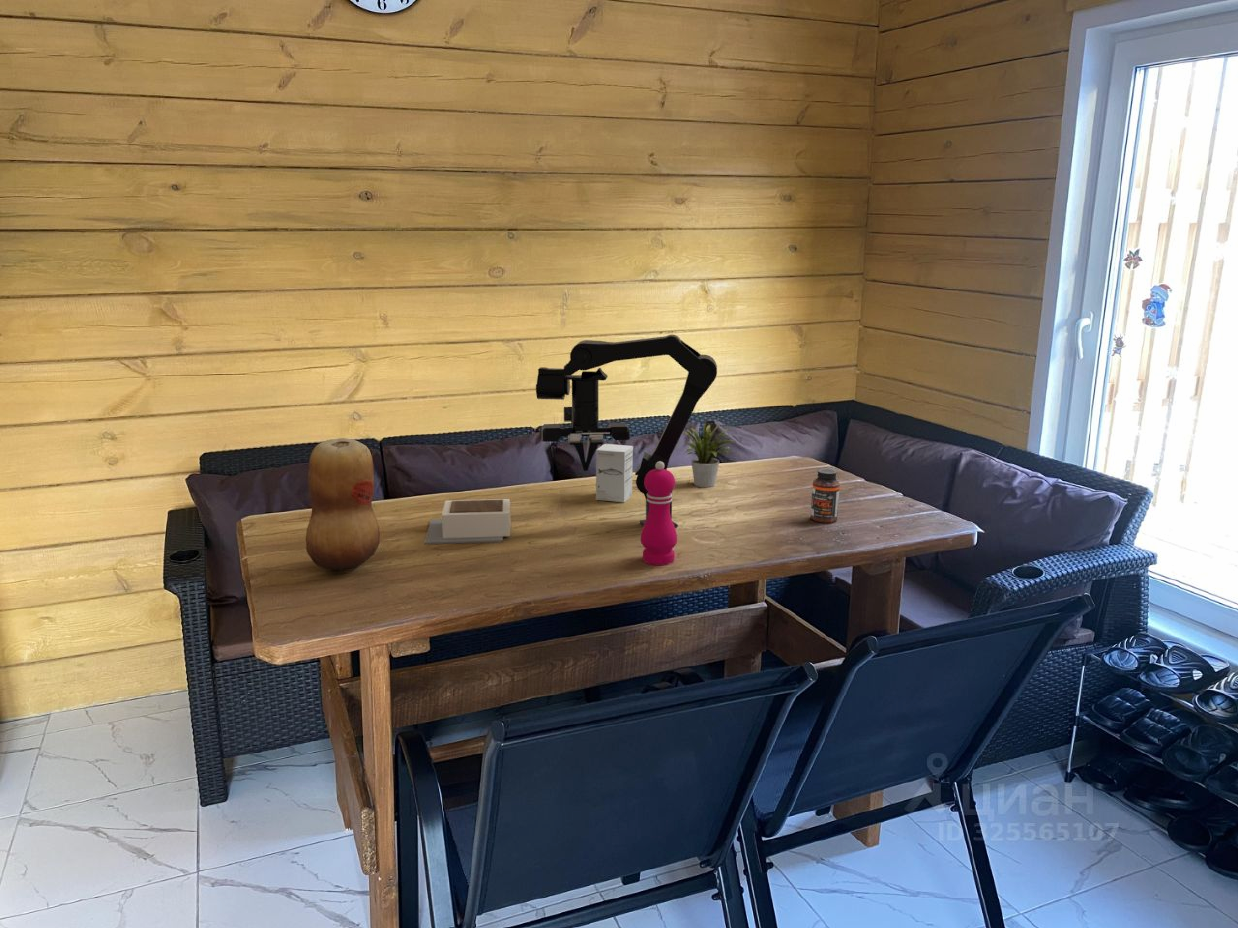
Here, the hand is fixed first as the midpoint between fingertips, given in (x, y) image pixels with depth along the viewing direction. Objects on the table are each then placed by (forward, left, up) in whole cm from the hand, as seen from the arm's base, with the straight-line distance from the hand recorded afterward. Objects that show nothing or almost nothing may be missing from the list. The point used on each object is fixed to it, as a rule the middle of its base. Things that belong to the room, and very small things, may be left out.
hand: (585, 470), depth 209 cm
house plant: (+17, -39, -12) cm, 44 cm away
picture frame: (+2, +17, -9) cm, 19 cm away
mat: (+5, +26, -12) cm, 29 cm away
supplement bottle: (-19, -50, -12) cm, 55 cm away
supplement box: (+16, -14, -12) cm, 24 cm away
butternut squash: (-8, +53, -12) cm, 55 cm away
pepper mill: (-28, -4, -12) cm, 31 cm away
